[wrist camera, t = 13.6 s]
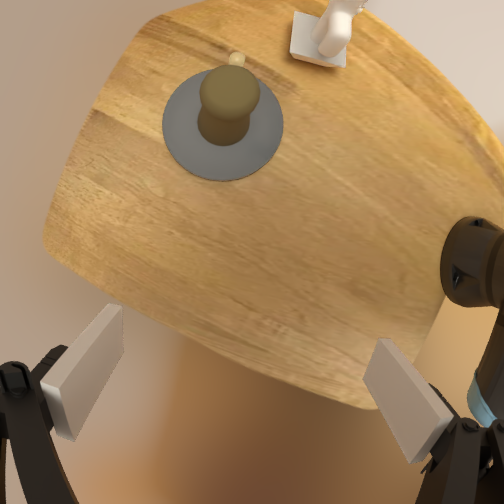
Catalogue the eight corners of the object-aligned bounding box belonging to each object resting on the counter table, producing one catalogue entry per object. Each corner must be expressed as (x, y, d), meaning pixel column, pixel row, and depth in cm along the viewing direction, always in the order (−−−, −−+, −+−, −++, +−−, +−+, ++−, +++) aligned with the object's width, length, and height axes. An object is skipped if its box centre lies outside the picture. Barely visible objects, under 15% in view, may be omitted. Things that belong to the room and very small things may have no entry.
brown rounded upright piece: (186, 127, 32) (178, 93, 21) (218, 88, 32) (223, 43, 21) (229, 156, 33) (240, 133, 22) (260, 116, 33) (282, 80, 22)
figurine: (281, 71, 34) (321, 7, 19) (288, 19, 33) (324, -48, 18) (333, 85, 35) (393, 34, 20) (336, 32, 34) (386, -24, 19)
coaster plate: (300, 108, 35) (317, 91, 29) (244, 203, 35) (252, 201, 29) (204, 55, 32) (204, 30, 26) (141, 146, 33) (129, 134, 27)
